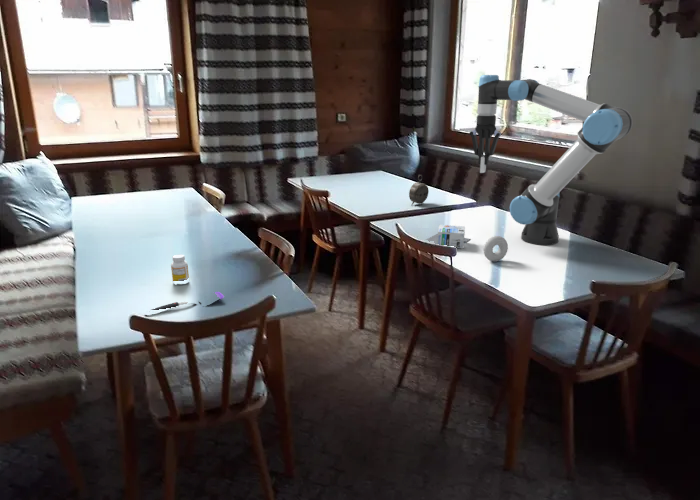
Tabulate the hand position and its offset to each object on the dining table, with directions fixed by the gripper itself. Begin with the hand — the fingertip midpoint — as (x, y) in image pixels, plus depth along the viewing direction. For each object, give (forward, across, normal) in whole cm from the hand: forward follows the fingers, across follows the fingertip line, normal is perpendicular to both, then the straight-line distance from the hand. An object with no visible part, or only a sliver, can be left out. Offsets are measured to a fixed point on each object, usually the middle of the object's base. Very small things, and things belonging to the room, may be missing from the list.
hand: (482, 172), depth 234 cm
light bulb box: (+25, +1, +15) cm, 29 cm away
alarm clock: (+28, +46, -38) cm, 66 cm away
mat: (+28, +10, +14) cm, 33 cm away
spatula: (+29, +53, +119) cm, 133 cm away
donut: (+29, -16, +28) cm, 43 cm away
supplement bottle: (+28, +69, +105) cm, 129 cm away
